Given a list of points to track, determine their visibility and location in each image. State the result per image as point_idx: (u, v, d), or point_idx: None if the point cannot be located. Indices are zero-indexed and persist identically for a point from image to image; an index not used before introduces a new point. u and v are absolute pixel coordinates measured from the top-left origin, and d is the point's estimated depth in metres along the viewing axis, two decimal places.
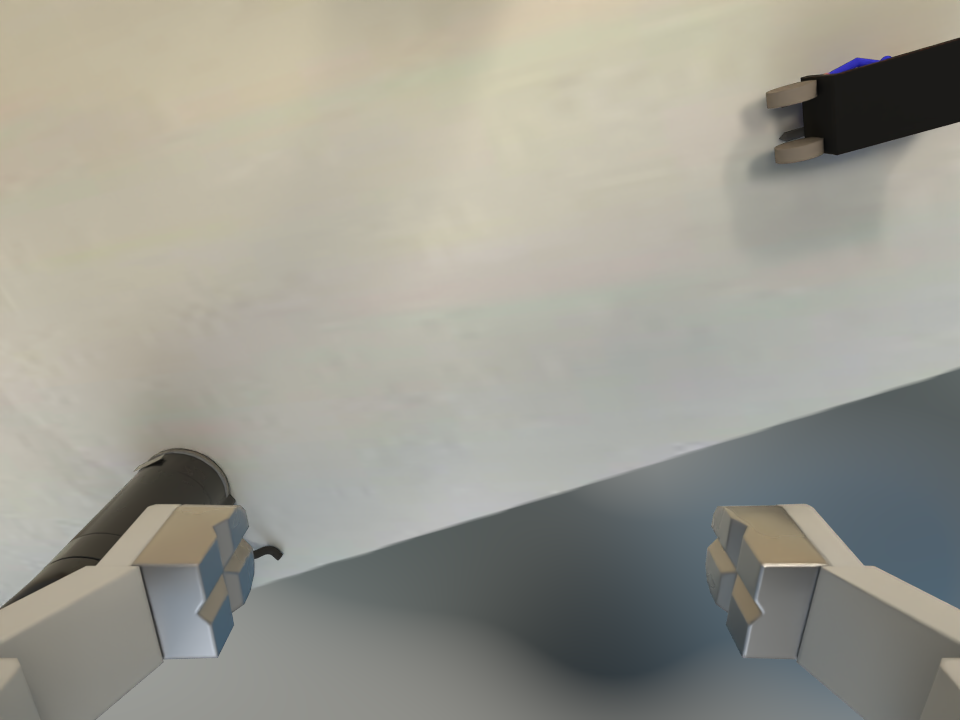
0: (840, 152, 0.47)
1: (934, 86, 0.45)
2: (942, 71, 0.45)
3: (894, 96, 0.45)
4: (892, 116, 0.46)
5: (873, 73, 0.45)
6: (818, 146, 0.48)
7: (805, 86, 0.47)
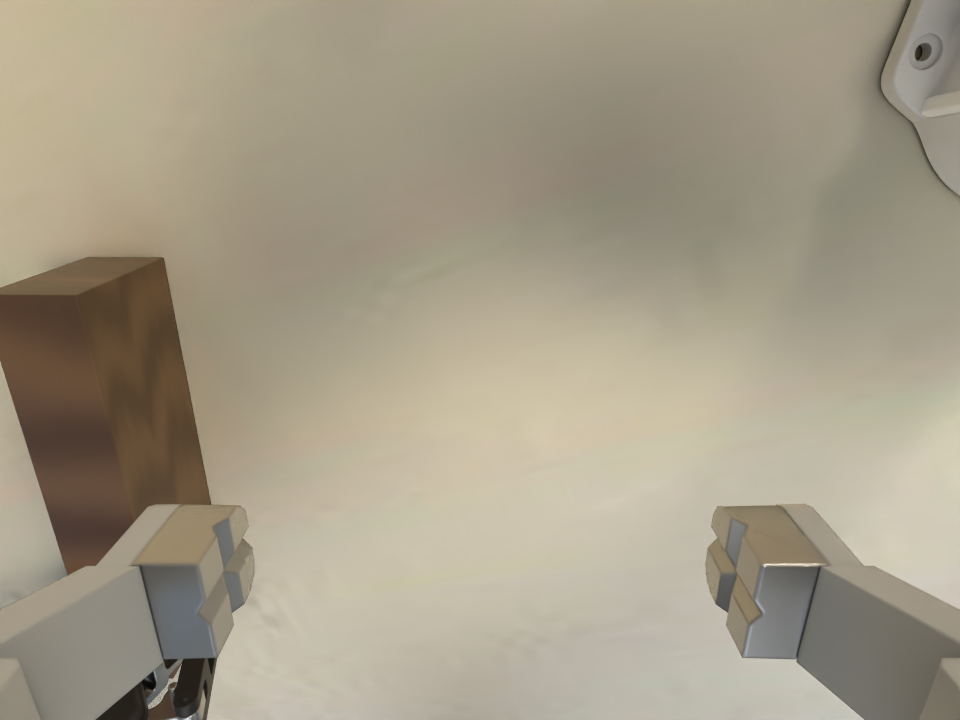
0: None
1: None
2: None
3: None
4: None
5: None
6: None
7: None
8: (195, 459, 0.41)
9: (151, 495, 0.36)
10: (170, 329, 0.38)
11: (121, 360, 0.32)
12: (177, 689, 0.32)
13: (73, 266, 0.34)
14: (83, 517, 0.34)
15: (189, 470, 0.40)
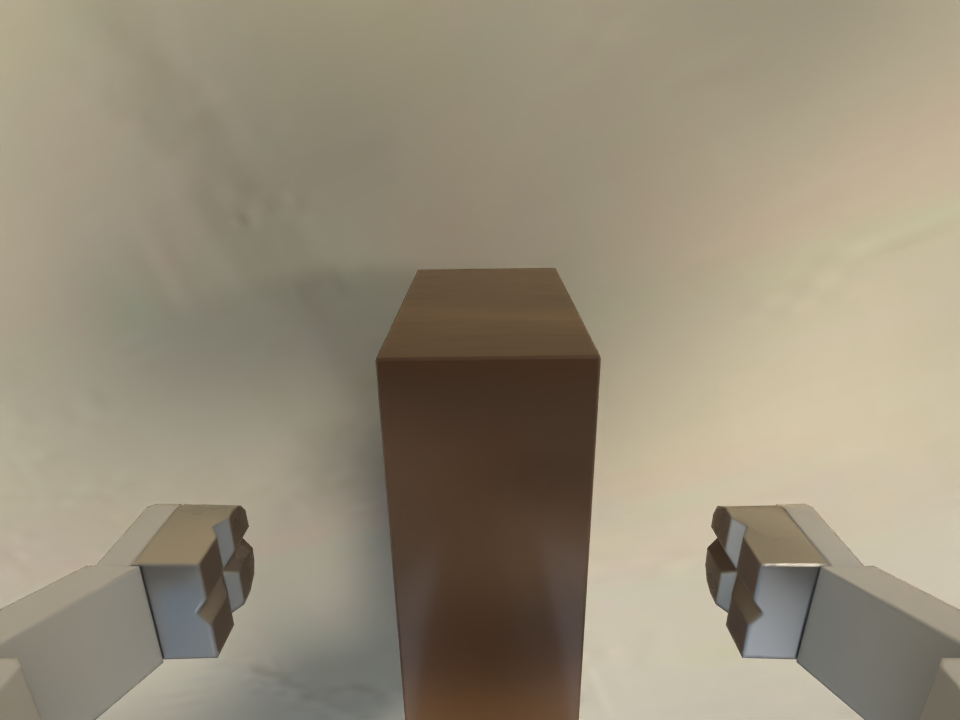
0: None
1: None
2: None
3: None
4: None
5: None
6: None
7: None
8: None
9: None
10: None
11: None
12: None
13: (433, 287, 0.18)
14: None
15: None
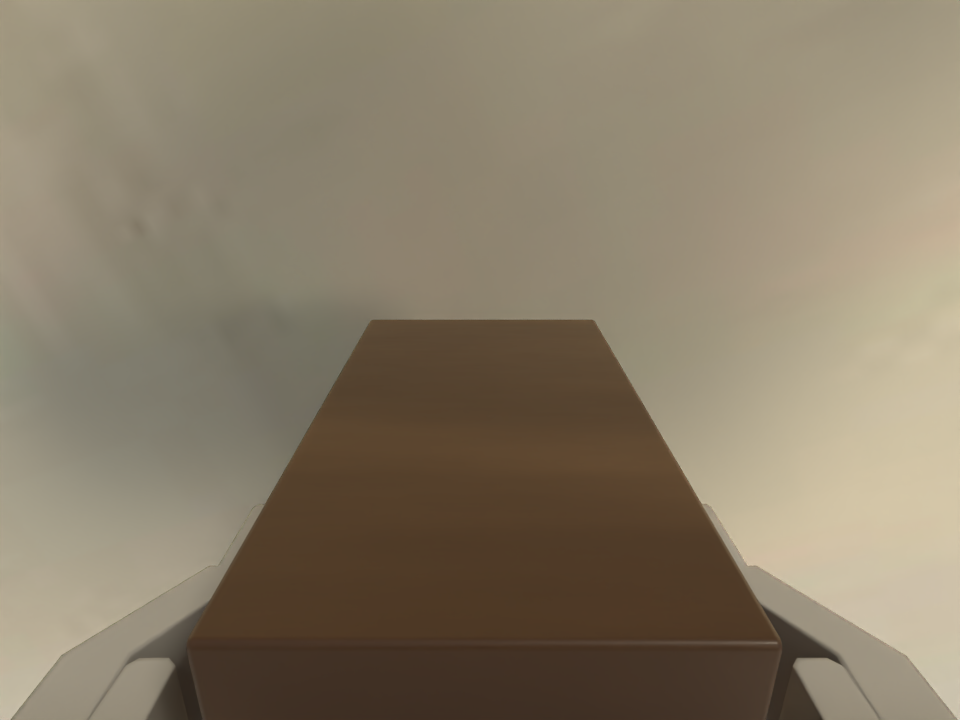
0: None
1: None
2: None
3: None
4: None
5: None
6: None
7: None
8: None
9: None
10: None
11: None
12: None
13: (387, 361, 0.10)
14: None
15: None
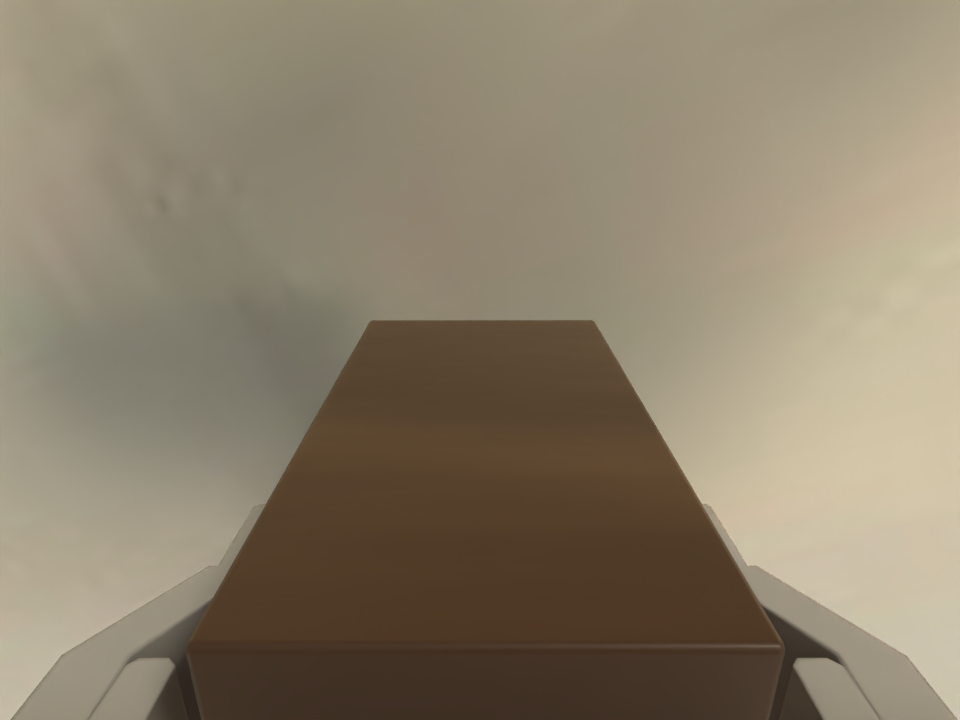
0: None
1: None
2: None
3: None
4: None
5: None
6: None
7: None
8: None
9: None
10: None
11: None
12: None
13: (387, 362, 0.10)
14: None
15: None
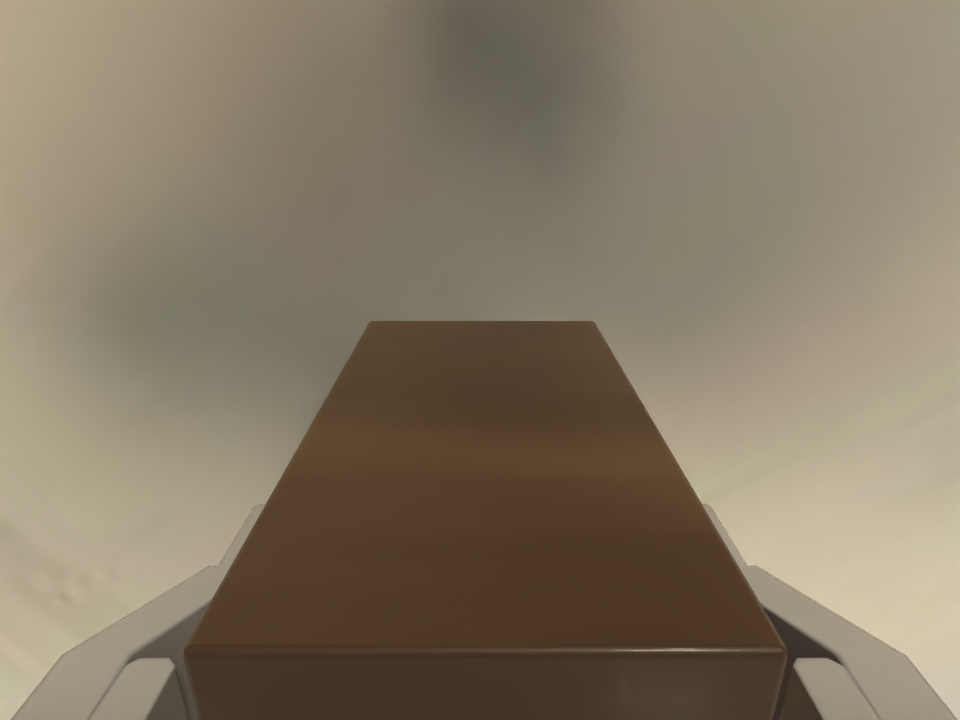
0: None
1: None
2: None
3: None
4: None
5: None
6: None
7: None
8: None
9: None
10: None
11: None
12: None
13: (386, 363, 0.10)
14: None
15: None
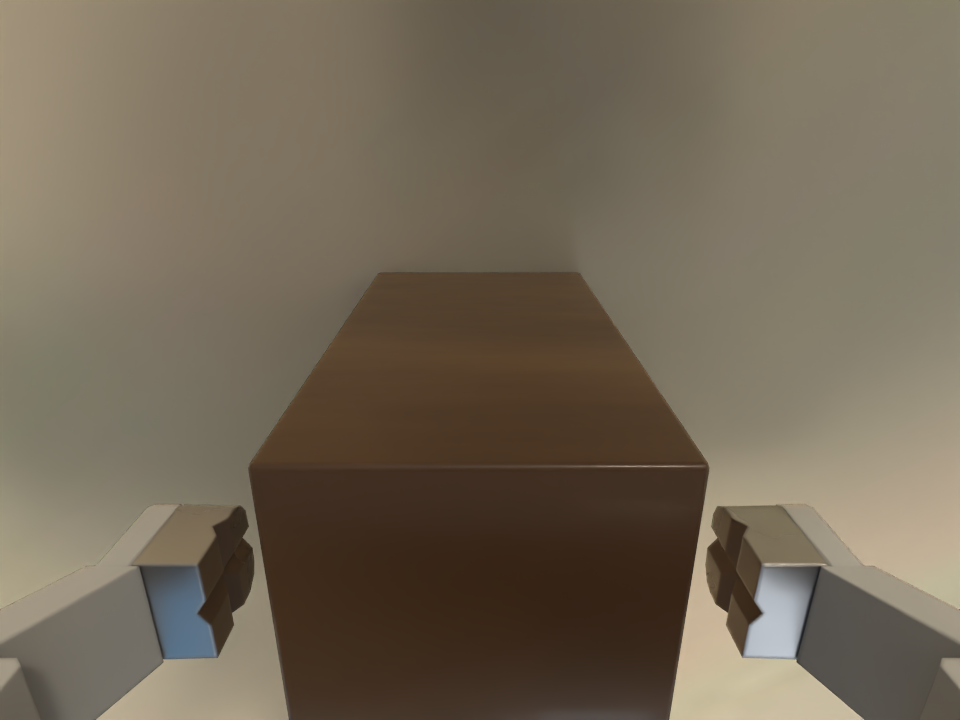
0: None
1: None
2: None
3: None
4: None
5: None
6: None
7: None
8: None
9: None
10: None
11: None
12: None
13: (395, 301, 0.12)
14: None
15: None
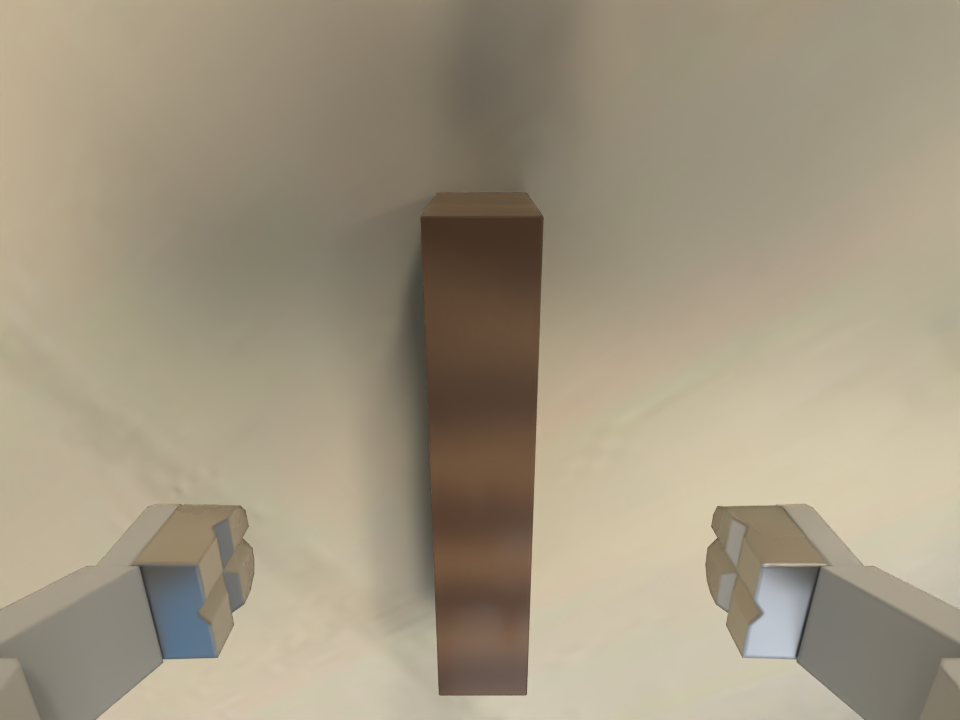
0: None
1: None
2: None
3: None
4: None
5: None
6: None
7: None
8: None
9: None
10: None
11: None
12: None
13: (447, 198, 0.29)
14: (473, 500, 0.28)
15: None
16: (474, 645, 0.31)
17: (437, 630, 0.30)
